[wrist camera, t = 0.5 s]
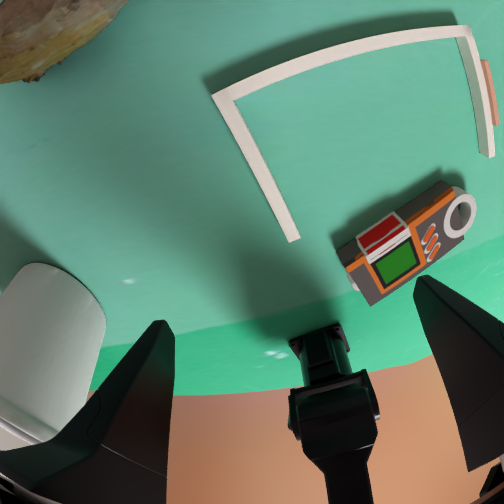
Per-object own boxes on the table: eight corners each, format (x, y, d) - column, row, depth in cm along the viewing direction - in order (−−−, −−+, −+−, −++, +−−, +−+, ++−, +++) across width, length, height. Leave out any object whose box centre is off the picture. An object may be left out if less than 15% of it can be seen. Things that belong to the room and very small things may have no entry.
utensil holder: (121, 352, 33) (94, 471, 19) (36, 330, 31) (-3, 427, 17) (100, 269, 25) (33, 433, 11) (2, 250, 23) (-72, 363, 9)
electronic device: (481, 228, 21) (368, 311, 25) (464, 214, 24) (358, 291, 28) (471, 174, 18) (340, 269, 22) (452, 163, 20) (330, 250, 25)
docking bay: (488, 149, 18) (501, 156, 17) (286, 232, 23) (290, 246, 22) (462, 25, 12) (476, 25, 10) (213, 93, 17) (210, 95, 15)
